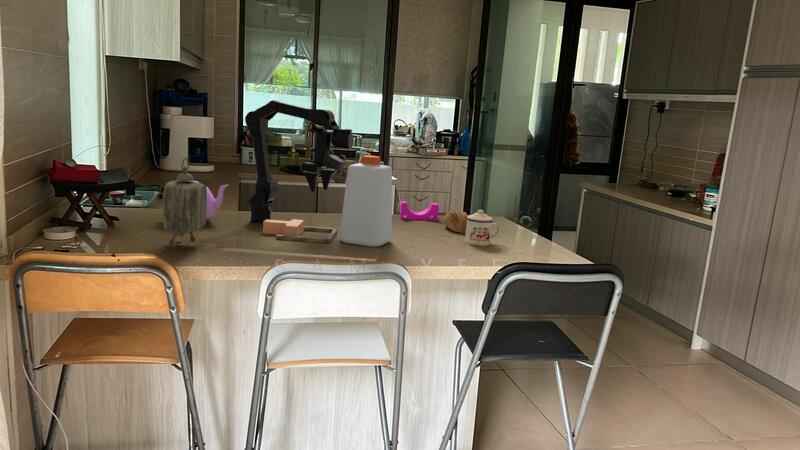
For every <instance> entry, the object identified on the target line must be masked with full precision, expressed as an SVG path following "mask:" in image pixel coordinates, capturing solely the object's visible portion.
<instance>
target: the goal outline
mask: <svg viewBox="0 0 800 450" xmlns="http://www.w3.org/2000/svg"><path fill="white" fill-rule="evenodd" d="M304 231H309V232H321V233H322V232H323V233H330V234H329V235H328V236H327V238H323V237H311V236H310V237H309V236H301V235H300V236H287V235H277V234H275V240H283V241H293V242H294V241H296V242H309V243H322V244H330V243H332V242H333V241H332V240H333V239H334V238H335V236H337V233H338V228H333V227H318V226H306V225H304Z"/></svg>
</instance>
